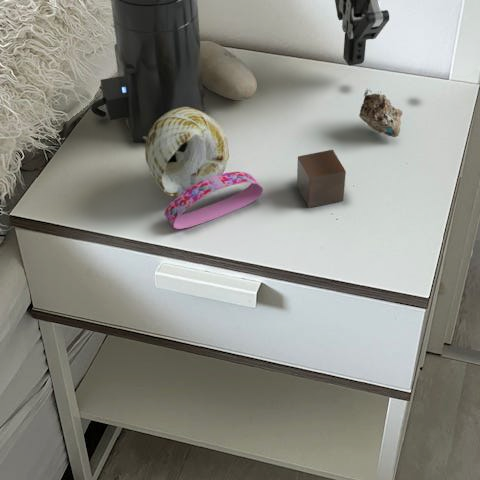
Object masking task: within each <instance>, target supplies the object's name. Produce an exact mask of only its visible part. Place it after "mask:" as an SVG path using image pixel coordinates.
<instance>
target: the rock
mask: <svg viewBox="0 0 480 480" xmlns="http://www.w3.org/2000/svg"><path fill="white" fill-rule="evenodd" d="M369 93H371V94H369ZM379 93H380V94H379ZM381 93H382V91H379V90H378V91H377V93H372V90H371V88H369V89H366V90H365V91H364V93H363V95H364V98H363V101H362V102H363V103H362V104H361V106H360V110H359V115H358V117H359V118H360V119H361V121H363V122H364V123H365V124H366V125H367V126H368V127H369V128H371V129H372V130H374V131H376V132H377V133H378V134H382V133H383V134H384V135H385V136H388V137H392V138H393V137H394V138H396V137H399V135H400V132H401V124H402V121H401V118H402V115H403V110H402V109H399V108H395V107H394V106H393V105H392V102H391V100H390V99H388V98H387V95H385V94H381Z"/></svg>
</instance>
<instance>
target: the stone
mask: <svg viewBox="0 0 480 480" xmlns="http://www.w3.org/2000/svg"><path fill="white" fill-rule="evenodd" d="M200 50H201V65H202V81H203V87H205V88H207V89H208V90H210V91H211V92H213V93H215V94H217V95H219V96H221V97H224V98H226V99H228V100H229V99H230V100H235V101H242V100H243V101H244V100H248V99H250V98H251V97H253V96H254V94H255V93H256V91H257V80H256V77H255V75H254V73H253V72H252V71H251V69H250V68H249V67H248V66H247V65H246V64H245V62H243V61H242V60H241V59H240V58H238V57H237V56H236V55H235V54H234V53H232V52H231V51H229V50H228V49H227V48H225V47H224V46H222V45H220V44H219V43H216V42H214V41H209V40H200Z"/></svg>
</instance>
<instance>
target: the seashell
mask: <svg viewBox="0 0 480 480" xmlns="http://www.w3.org/2000/svg"><path fill="white" fill-rule="evenodd" d="M229 149H230V148H229V145H228V139H227V137H226V135H225V132H224V130H223V128H222V126H221V124H219V122H217V120H215V119H214V118H213V117H212V116H210V115H209V114H207V113H206V112H205V113H204V112H201V111H199V110H196V109H193V108H190V107H181V108H177V109H174V110H171V111H169V112H168V113H166V114H164V115H163V116H162V117H160V118H159V119H158V120H157V121H156V122H155V124H154V125H153V127H152V128H151V130H150V132H149V134H148V137H147V140H146V142H145V148H144V151H145V152H144V156H145V162H146V165H147V167H148V170H149V172H150V173H151V175H152V177H153V180H154V181H155V183H156V185H157V186H158V187H159V189H161V191H162V192H163V193H164V194H166V195H167V196H169V197H175V196H176V197H178V196H179V195H180V194H182V193H183V192H184V191H186V190H187V189H189V188H190V187H192V186H194V185H196V184H197V183H199V182H201V181H203V180H206V179H208V178H210V177H212V176H216V175H220V174H224V173H225V172H224V171H226V168H227V164H228V161H229V159H230V150H229Z"/></svg>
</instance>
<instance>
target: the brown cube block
mask: <svg viewBox="0 0 480 480" xmlns="http://www.w3.org/2000/svg"><path fill="white" fill-rule="evenodd" d="M296 171H297V172H296V175H297V176H296V186H297V189H298V190H299V193H300V194H301V196H302V198H303V200H304V202H305V204H306V206H307V208H309V209H310V208H315V207H319V206H325V205H329V204H334V203H339V202H343V201H344V198H345V187H346V185H345V184H346V175H347V171H346V169H345V168H344V166H343V165H342V162H341V161H340V159H339V157H338V156H337V154H336V152H335V151H334V149H328V150H323V151H319V152H313V153H307V154H303V155H298V156H297V169H296Z"/></svg>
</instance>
